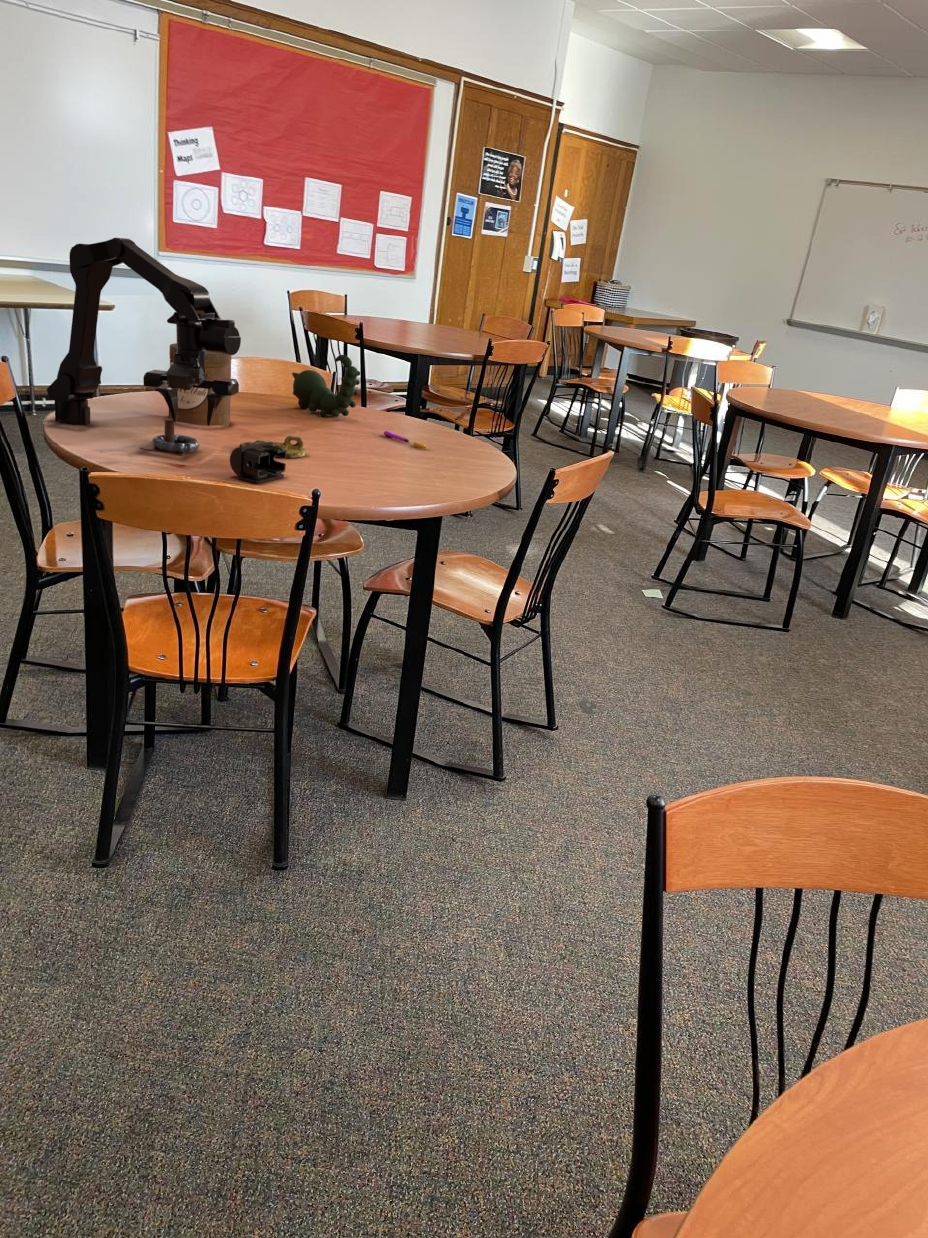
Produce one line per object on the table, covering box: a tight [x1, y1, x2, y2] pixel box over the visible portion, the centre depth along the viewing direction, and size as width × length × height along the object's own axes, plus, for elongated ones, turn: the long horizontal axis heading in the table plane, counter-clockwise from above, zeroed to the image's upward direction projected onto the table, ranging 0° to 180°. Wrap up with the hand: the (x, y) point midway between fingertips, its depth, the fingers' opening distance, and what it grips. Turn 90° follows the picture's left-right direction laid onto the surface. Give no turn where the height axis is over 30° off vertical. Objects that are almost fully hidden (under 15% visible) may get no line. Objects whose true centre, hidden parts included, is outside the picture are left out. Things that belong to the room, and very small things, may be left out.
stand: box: [140, 417, 189, 457], centre depth 194 cm, size 9×9×7 cm
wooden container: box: [168, 342, 232, 427], centre depth 222 cm, size 15×15×22 cm
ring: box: [151, 434, 200, 454], centre depth 195 cm, size 10×10×2 cm
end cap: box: [229, 441, 287, 485], centre depth 186 cm, size 10×7×7 cm
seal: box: [238, 435, 306, 459], centre depth 207 cm, size 9×5×15 cm
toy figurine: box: [291, 354, 361, 418], centre depth 254 cm, size 9×19×25 cm
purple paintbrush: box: [383, 430, 429, 450], centre depth 239 cm, size 3×1×16 cm
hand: (192, 423), depth 193 cm, fingers open, 7 cm apart
